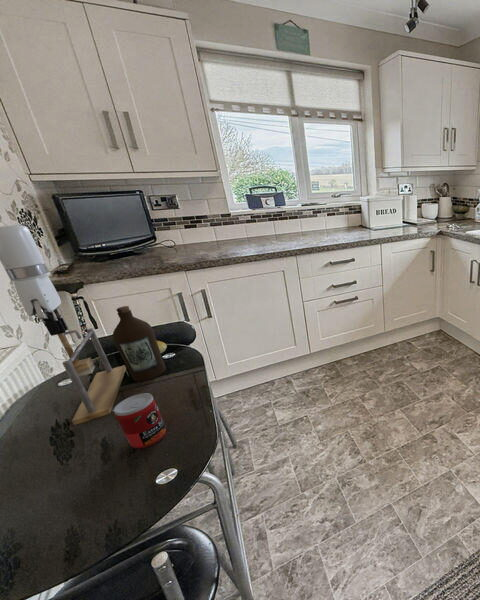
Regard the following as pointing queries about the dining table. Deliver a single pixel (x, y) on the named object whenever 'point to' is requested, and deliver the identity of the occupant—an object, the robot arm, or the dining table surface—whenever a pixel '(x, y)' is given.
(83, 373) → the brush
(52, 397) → the dining table surface
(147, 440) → the canned food
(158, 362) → the olive oil
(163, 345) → the bread roll
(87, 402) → the rack
